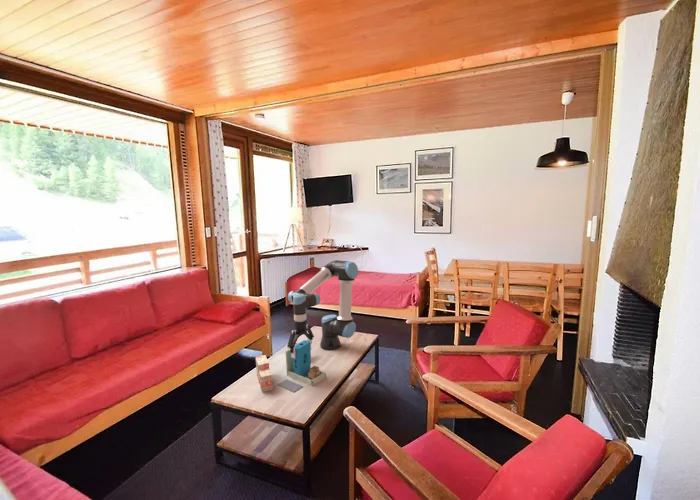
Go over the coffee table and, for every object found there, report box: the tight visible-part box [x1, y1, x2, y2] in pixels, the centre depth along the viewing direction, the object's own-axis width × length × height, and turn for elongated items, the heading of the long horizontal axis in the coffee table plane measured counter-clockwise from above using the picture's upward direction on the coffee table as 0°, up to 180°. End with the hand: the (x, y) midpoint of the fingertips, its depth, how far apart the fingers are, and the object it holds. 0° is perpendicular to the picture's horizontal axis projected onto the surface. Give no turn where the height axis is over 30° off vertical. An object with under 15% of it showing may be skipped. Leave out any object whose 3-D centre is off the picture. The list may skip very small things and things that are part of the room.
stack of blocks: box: [255, 354, 274, 393], centre depth 192 cm, size 21×6×12 cm, turn 24°
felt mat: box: [277, 379, 304, 393], centre depth 187 cm, size 7×14×1 cm, turn 53°
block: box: [293, 339, 312, 378], centre depth 198 cm, size 12×5×20 cm, turn 149°
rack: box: [285, 349, 327, 387], centre depth 196 cm, size 12×22×16 cm, turn 53°
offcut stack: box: [307, 365, 320, 380], centre depth 193 cm, size 6×4×8 cm
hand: (301, 353), depth 197 cm, fingers open, 13 cm apart
